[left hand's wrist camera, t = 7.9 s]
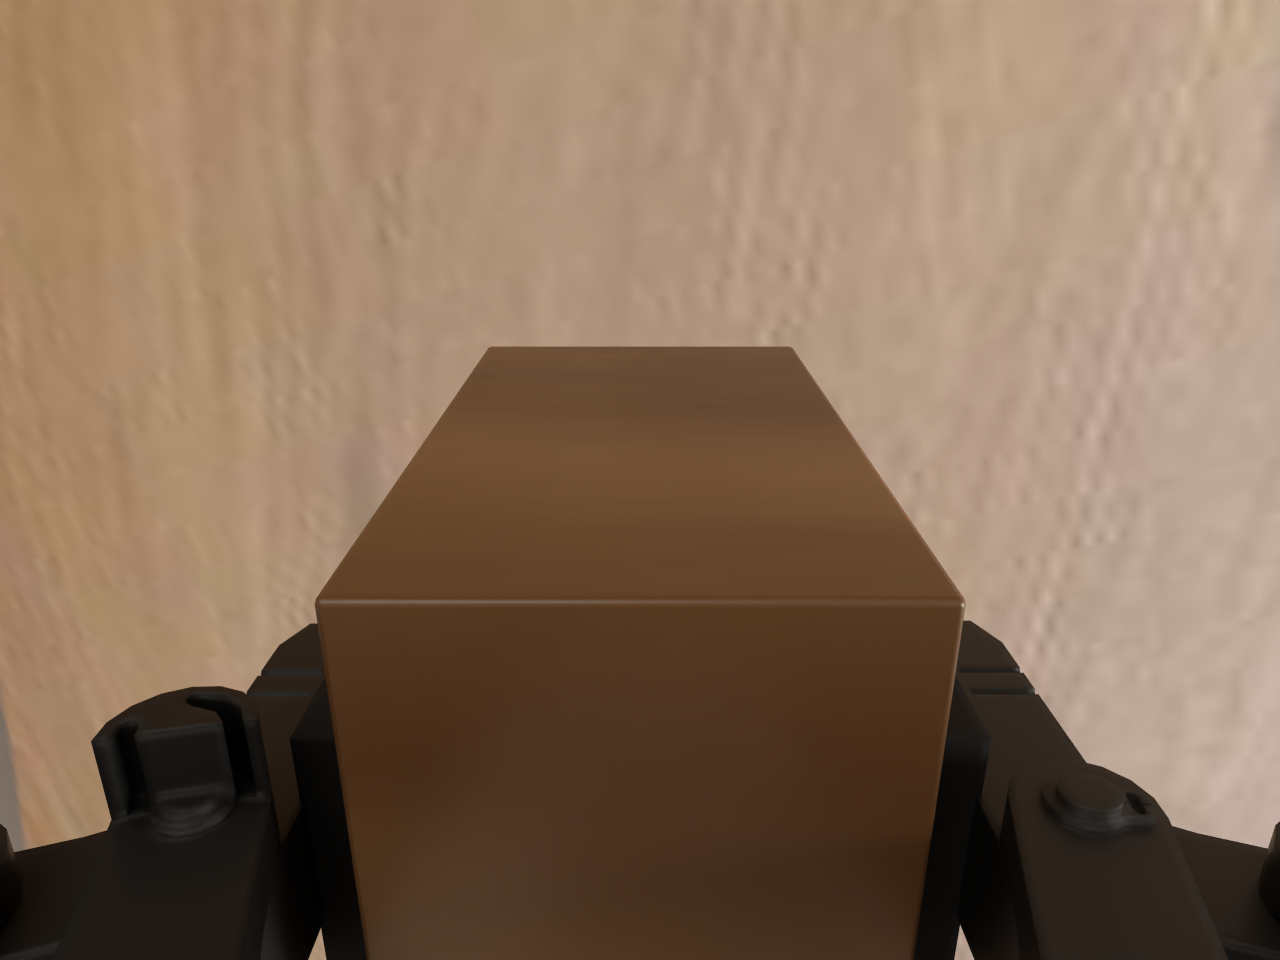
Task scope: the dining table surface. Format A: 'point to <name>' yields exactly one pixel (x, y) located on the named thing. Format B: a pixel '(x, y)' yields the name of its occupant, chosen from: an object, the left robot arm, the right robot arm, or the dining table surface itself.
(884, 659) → the bar
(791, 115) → the dining table surface
